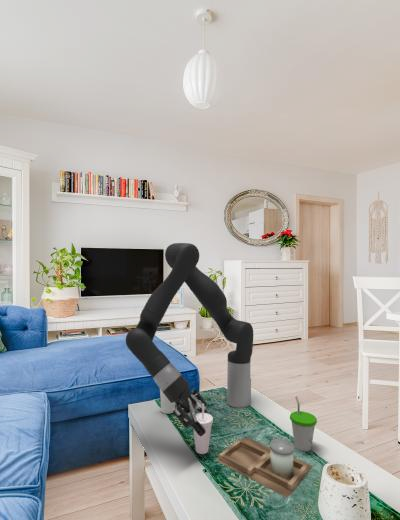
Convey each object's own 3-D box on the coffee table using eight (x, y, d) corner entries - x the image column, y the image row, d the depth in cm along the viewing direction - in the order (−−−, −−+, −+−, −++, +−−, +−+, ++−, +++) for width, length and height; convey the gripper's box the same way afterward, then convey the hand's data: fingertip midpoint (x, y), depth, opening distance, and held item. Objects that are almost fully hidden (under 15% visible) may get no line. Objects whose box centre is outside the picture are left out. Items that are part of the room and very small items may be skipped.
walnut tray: (245, 440, 104) (245, 432, 104) (313, 470, 90) (313, 460, 90) (215, 464, 92) (215, 454, 92) (287, 502, 78) (287, 491, 78)
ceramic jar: (276, 461, 92) (276, 435, 92) (298, 470, 88) (298, 444, 88) (265, 472, 87) (265, 445, 87) (287, 483, 83) (287, 455, 83)
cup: (316, 460, 94) (317, 409, 94) (289, 455, 97) (289, 405, 97) (315, 446, 102) (316, 398, 102) (289, 441, 104) (290, 395, 104)
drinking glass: (174, 416, 120) (174, 375, 120) (156, 414, 121) (157, 374, 121) (178, 408, 126) (179, 369, 126) (162, 406, 128) (162, 368, 128)
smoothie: (196, 459, 92) (196, 410, 91) (187, 446, 98) (188, 400, 97) (216, 453, 94) (216, 406, 94) (207, 441, 100) (207, 396, 100)
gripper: (168, 383, 91) (207, 433, 87) (188, 367, 105) (223, 410, 101) (152, 399, 93) (189, 448, 89) (173, 381, 107) (207, 423, 103)
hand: (207, 428), depth 95 cm, fingers closed on smoothie, 6 cm apart
